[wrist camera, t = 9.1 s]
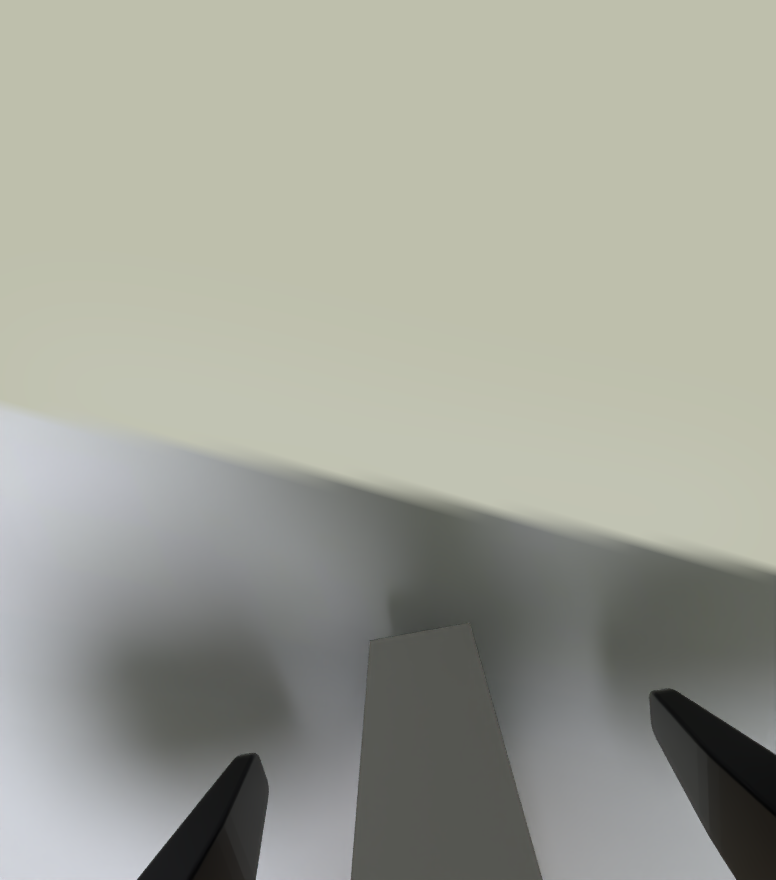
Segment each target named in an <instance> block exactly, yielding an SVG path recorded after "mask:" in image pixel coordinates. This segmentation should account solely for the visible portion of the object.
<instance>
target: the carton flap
mask: <svg viewBox="0 0 776 880" xmlns="http://www.w3.org/2000/svg"><path fill="white" fill-rule="evenodd" d="M351 880H542V876H541V873H540V869H539V866H538V862H537V859H536V855H535V851H534V848H533V844H532V841H531V837H530V834H529V830H528V827H527V823H526V820H525V816H524V813H523V809H522V805H521V802H520V798H519V795H518V791H517V788H516V784H515V781H514V777H513V774H512V770H511V767H510V763H509V759H508V756H507V752H506V749H505V745H504V742H503V738H502V735H501V731H500V728H499V724H498V721H497V717H496V713H495V710H494V706H493V703H492V699H491V696H490V692H489V689H488V685H487V682H486V678H485V675H484V671H483V667H482V664H481V660H480V657H479V653H478V650H477V646H476V643H475V639H474V636H473V632H472V629H471V625H470V623H465V624H459V625H454V626H448V627H443V628H437V629H432V630H426V631H420V632H415V633H409V634H404V635H398V636H393V637H387V638H381V639H376V640H370V646H369V658H368V671H367V683H366V696H365V708H364V721H363V733H362V746H361V759H360V771H359V784H358V796H357V809H356V821H355V834H354V847H353V859H352V872H351Z"/></svg>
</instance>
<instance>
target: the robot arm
mask: <svg viewBox="0 0 776 880" xmlns="http://www.w3.org/2000/svg"><path fill="white" fill-rule="evenodd" d="M649 701H650V715H651V726H652V729H653V732H654V735H655V737H656V739H657V741H658V743H659V745H660V747H661V749H662V750H663V752H664V754H665V756H666V758H667V760H668V762H669V763H670V765H671V767H672V769H673V771H674V773H675V775H676V776H677V778H678V780H679V782H680V784H681V786H682V788H683V789H684V791H685V793H686V795H687V797H688V799H689V801H690V802H691V804H692V806H693V808H694V810H695V812H696V814H697V815H698V817H699V819H700V821H701V823H702V825H703V826H704V828H705V830H706V832H707V833H708V835H709V837H710V839H711V840H712V842H713V844H714V845H715V847H716V848H717V850H718V852H719V853H720V855H721V856H722V858H723V860H724V861H725V863H726V864H727V866H728V867H729V869H730V871H731V872H732V874H733V875H734V877H735V878H736V880H776V755H775V754H774V753H772V752H771V751H769V750H768V749H766V748H765V747H763V746H761V745H760V744H758V743H757V742H755V741H754V740H752V739H751V738H749V737H747V736H746V735H744V734H743V733H741V732H740V731H738V730H737V729H735V728H733V727H732V726H730V725H729V724H727V723H726V722H724V721H723V720H721V719H719V718H718V717H716V716H715V715H713V714H712V713H710V712H709V711H707V710H705V709H704V708H702V707H701V706H699V705H698V704H696V703H695V702H693V701H691V700H690V699H688V698H687V697H685V696H684V695H682V694H681V693H679V692H677V691H676V690H673V689H670V688H668V689H661V690H654V691H651V693H650V695H649ZM268 795H269V786H268V781H267V778H266V775H265V772H264V769H263V766H262V763H261V760H260V757H259V755H258V754H256V753H249V754H242V755H239V756H237V757H236V758H235V759H234V760H233V761H232V762H231V763H230V765H229V766H228V767H227V768H226V769H225V771H224V772H223V773H222V774H221V776H220V777H219V778H218V779H217V781H216V782H215V783H214V784H213V786H212V787H211V788H210V789H209V791H208V792H207V793H206V794H205V796H204V797H203V798H202V799H201V801H200V802H199V803H198V804H197V806H196V807H195V808H194V809H193V810H192V812H191V813H190V814H189V815H188V817H187V818H186V819H185V820H184V822H183V823H182V824H181V825H180V827H179V828H178V829H177V830H176V832H175V833H174V834H173V835H172V837H171V838H170V839H169V840H168V842H167V843H166V844H165V845H164V846H163V848H162V849H161V850H160V851H159V853H158V854H157V855H156V856H155V858H154V859H153V860H152V861H151V863H150V864H149V865H148V866H147V868H146V869H145V870H144V871H143V873H142V874H141V875H140V876H139V878H138V879H137V880H256V874H257V868H258V861H259V855H260V848H261V842H262V835H263V828H264V822H265V815H266V809H267V802H268Z"/></svg>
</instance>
